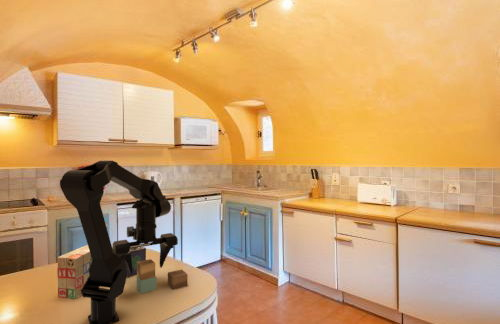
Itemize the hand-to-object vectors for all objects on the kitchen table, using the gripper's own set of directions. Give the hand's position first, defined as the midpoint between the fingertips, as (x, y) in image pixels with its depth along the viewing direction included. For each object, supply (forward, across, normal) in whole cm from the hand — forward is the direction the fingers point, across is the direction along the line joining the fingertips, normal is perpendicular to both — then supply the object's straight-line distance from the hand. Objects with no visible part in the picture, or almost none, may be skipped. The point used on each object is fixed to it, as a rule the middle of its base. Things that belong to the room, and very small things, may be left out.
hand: (146, 270), depth 93 cm
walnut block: (+6, -9, +3) cm, 11 cm away
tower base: (+6, 0, 0) cm, 6 cm away
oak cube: (+2, 0, 0) cm, 2 cm away
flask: (+6, +1, -14) cm, 15 cm away
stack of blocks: (+6, +14, -14) cm, 21 cm away
